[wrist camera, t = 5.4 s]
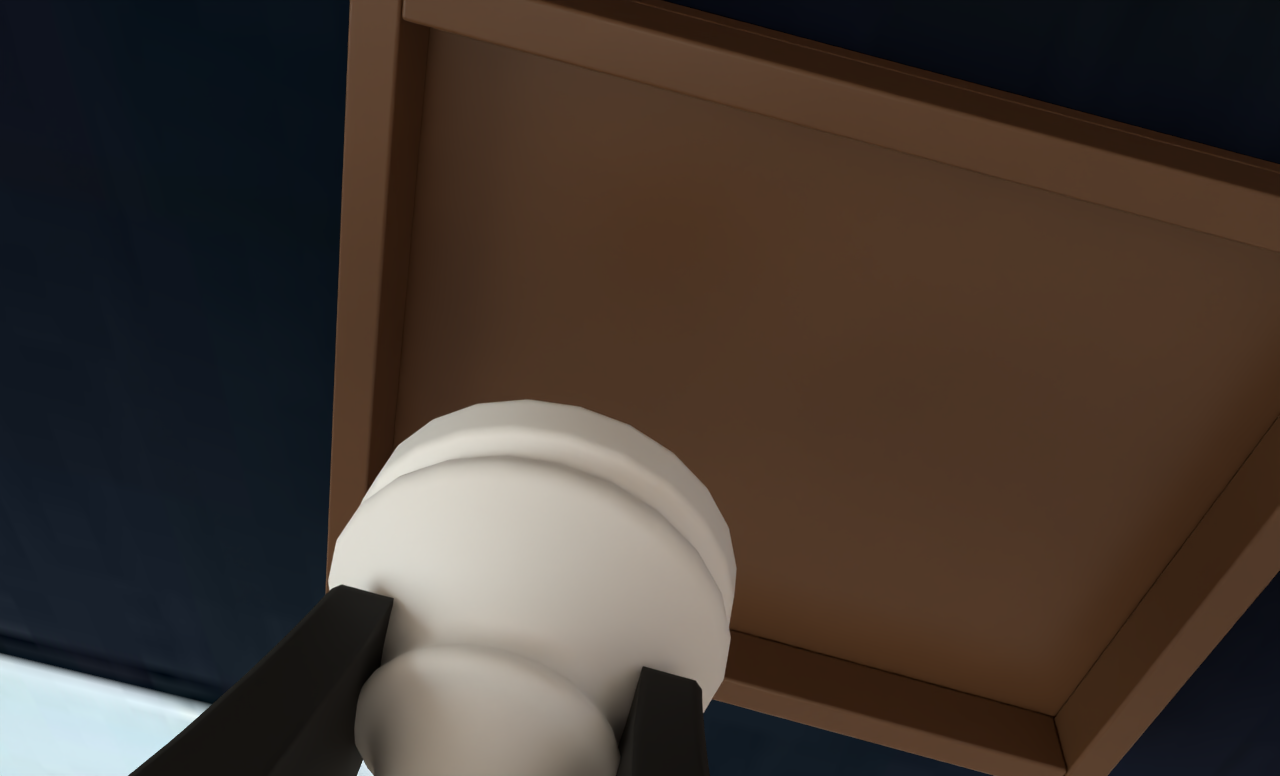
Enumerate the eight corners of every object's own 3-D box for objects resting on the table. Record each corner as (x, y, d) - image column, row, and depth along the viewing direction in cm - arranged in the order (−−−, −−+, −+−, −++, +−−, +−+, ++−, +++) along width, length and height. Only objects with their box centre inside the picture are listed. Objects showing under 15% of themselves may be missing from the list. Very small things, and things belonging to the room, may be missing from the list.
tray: (1455, 210, 15) (1539, 265, 13) (1066, 724, 23) (1087, 802, 21) (402, -70, 15) (350, -50, 14) (361, 533, 23) (324, 596, 21)
